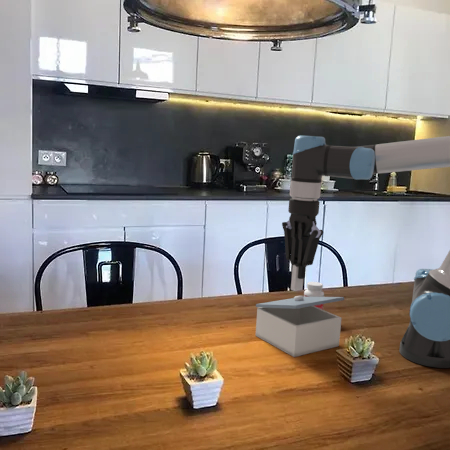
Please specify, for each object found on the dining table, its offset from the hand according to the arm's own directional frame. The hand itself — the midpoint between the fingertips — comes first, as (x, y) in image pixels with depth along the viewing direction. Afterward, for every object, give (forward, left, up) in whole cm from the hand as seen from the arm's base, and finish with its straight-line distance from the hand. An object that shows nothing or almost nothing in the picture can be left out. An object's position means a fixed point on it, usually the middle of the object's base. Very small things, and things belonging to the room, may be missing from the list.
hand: (296, 289), depth 136 cm
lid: (+4, -5, -6) cm, 9 cm away
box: (+4, -5, -16) cm, 17 cm away
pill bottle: (+16, -22, -16) cm, 32 cm away
